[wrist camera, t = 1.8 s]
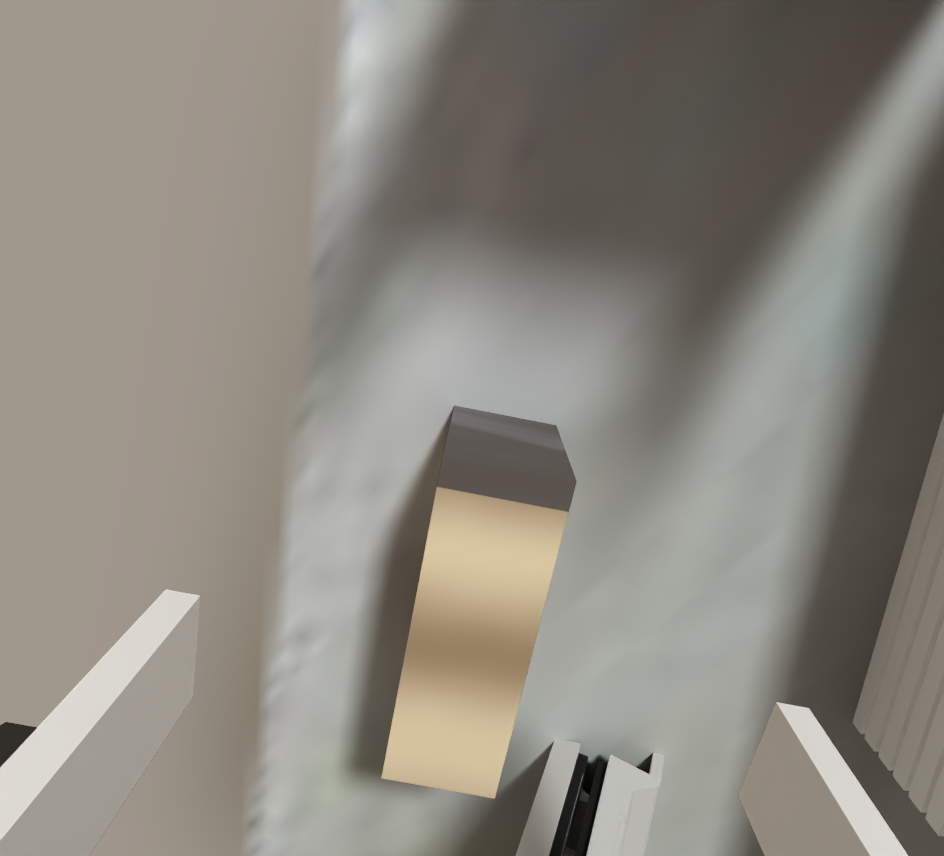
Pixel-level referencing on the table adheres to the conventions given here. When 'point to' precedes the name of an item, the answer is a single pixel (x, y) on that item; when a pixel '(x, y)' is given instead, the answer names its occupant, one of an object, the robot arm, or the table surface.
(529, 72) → the table surface
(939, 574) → the white ribbed block
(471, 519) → the tan wooden block
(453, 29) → the table surface
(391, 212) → the table surface
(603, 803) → the white rounded block
